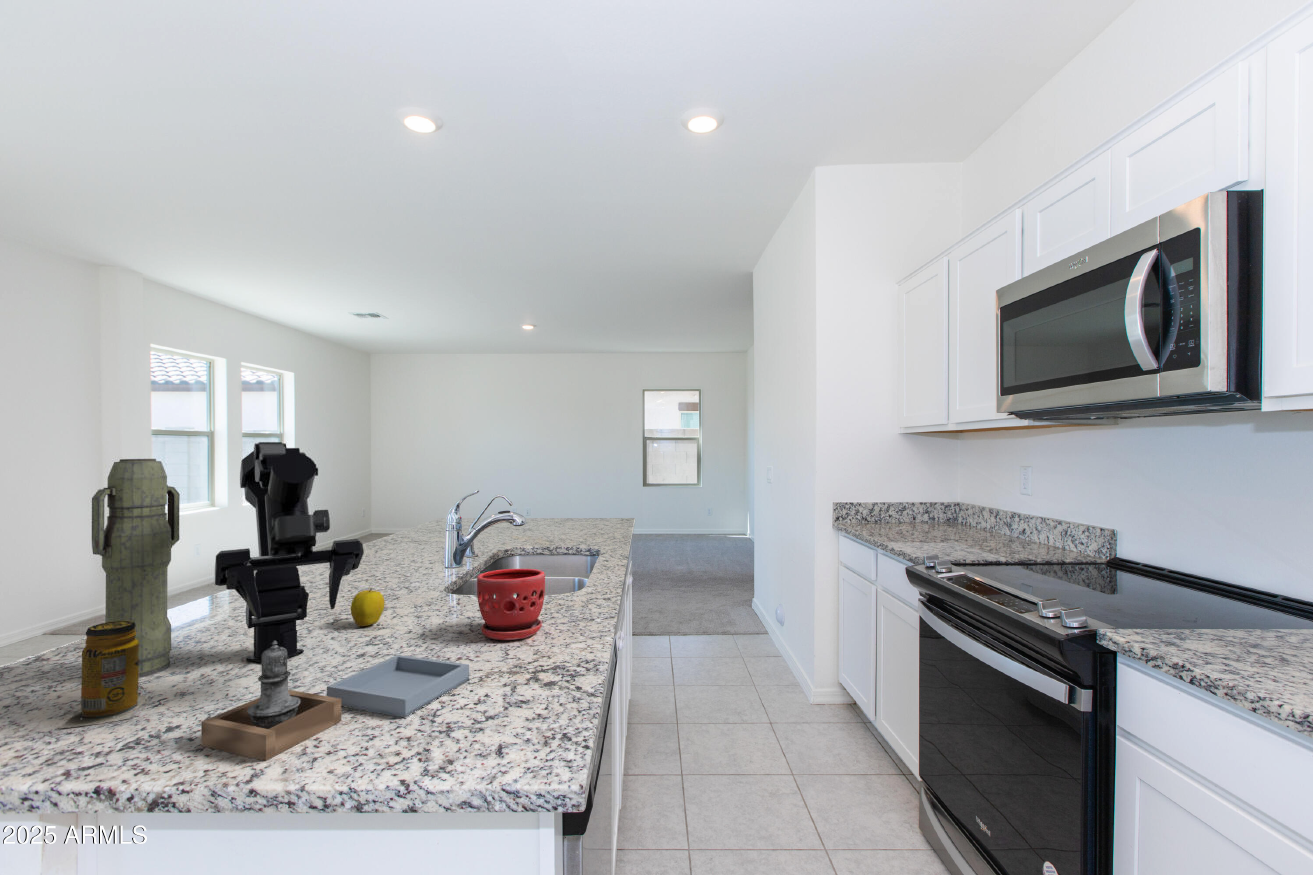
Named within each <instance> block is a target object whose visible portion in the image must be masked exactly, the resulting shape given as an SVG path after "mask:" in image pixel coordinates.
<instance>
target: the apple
mask: <svg viewBox="0 0 1313 875" xmlns="http://www.w3.org/2000/svg"><path fill="white" fill-rule="evenodd" d="M385 605H386V603H385V598H384V595H383V594H382V593H381V592H380V591H377V590H372V587H370V588H369V589H368V590H367V589H366V590H361V591H358V592H357V593H356V594H355V595H354V596H353V598H352V601H351V604H350V615H351V617H352V619H353V622H354V623H355V624H356V625H357V626H358V627H365V626H366V627H367V626H370V625H374V624H377V623H378V622H379V621H380V619H381V616H382V614H383V612H384V610H385V609H384V608H385Z"/></svg>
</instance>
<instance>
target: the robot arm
mask: <svg viewBox="0 0 1313 875" xmlns="http://www.w3.org/2000/svg"><path fill="white" fill-rule="evenodd" d="M239 471H240V472H239V487H240V489H243V490H244V499H245V501H246V502H247V503H249V504H250V505H251V506H252V507H253V508H254V509H255V519H256V533H257V545H258V547H257V548H258V556H253V557H251V550H250V548H237V549H227V550H226V549H225V550H220V551H219V552H218V553H217V554H216V555H215V560H214V562H215V564H214V585H215V586H218V587H222V586H225V588H226V589H227V590H235V592H236V593H237V594H238V595H239V596H240V597H241V599H243V601H244V602H245V604H246V605H245V624H246V626H247V629H249V630H250V629H253V654H251V655H248V656H245V659H244V660H245V661H249V662H255V663H261V664H262V654H263V652H264V651H265V650H267V649H269V648H270V647H272V646H273V645H272V643H273V641H274V640H275V641H277V646H279V647H283V648H285V649H286V650H287V659H290V658H292V657H295V656H297V655H301V654H304V652H305V650H304V649H303V648H298V630H297V621H304V620H305V618H307V617H308V604H309V603H308V602H309V596H310V594H309V592H307V590H306V587H305V585H304V584H303V585H302V584H301V583H302V582H301V578H300V577H301V576H300V573H299V568H298V567H300V566H301V567H302V566H310V565H322V564H329V569H330V570H329V574H328V596H329V597H328V603H329V606H330V610H331V611H332V610H335V607H336V602H337V600H338V595H339V590H340V586H341V583H342V579H343V577H346V576H348V575H350V574H351V572H352V571H355V570H357V569H359V566H360V564H361V561H362V559H363V556H364V552H365V551H364V545H363V543H362V541H360V540H359V538H352V539H351V538H350V539H342V540H341V539H339V540H333V541H332V542H333V543H332V546H331V548H330V549H326V550H325V549H324V550H314V548H315V547H316V544H317V538H316V537H317V534H321V533H327V532H328V531H329V530H330V529H331V520H330V519H331V518H330V513H329V509H317V510H316V509H315V510H314V511H313V512H312V514H310V513H309V512H310V511H309V502H308V499H309V498H310V496H311V494H312V490H313V486H314V481H315V478H316V477H317V476H319V467H317V464H316V463H315V460H313V459H312V458H311V457H309V456H307V455H306V453H305V452H304V451H303V452H301V450H300V448H299V447H287V443H283V442H281V441H259V442H258V443H257V442H256V443H254V444H253V451H251V452H250V453H248V454H247V455H245V457H244V458H242V459H241V462H240V470H239Z"/></svg>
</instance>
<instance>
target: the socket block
mask: <svg viewBox="0 0 1313 875" xmlns="http://www.w3.org/2000/svg"><path fill="white" fill-rule="evenodd" d="M288 691H289V695H290V696H293V697H297V698H299V699H300V700H301V702H300V704H299V705H298V710H297V712H296V715H295V717H293V718H291V719H289V720H286V721H284V722H282V723H280V724H278V725H276V726H274V727H272V728H270V729H264V728H259V727H256V726H254V725H253V723H252V721H251V719H250V715H248V713H247V710H248V708H250V707H251V706H252V705H254V704H255V703H258V702H259V699H260V697H257V698H256V699H252V700H250V701H248V702H245V703H243V704H241V705H239V706H238V705H237V706H235V707H234V708H231V709H229V710H226V711H223V712H221V713H220V714H216V715H214V716H211V717H210V718H207V719H205V720H202V721H201V722H200V723H201V724H200V725H201V729H200V730H201V734H200V736H201V737H200V738H201V740H200V741H201V744H200V745H201V747H204V748H209V749H213V750H218V751H222V752H225V753H230V754H234V755H239V756H243V757H247V758H248V757H249V758H251V759H256V760H260V761H264V762H266V761H269V760H270V759H273V758H274V757H276V756H277V755H280V754H283V753H284V752H286V751H287V750H289V749H292V748H293V747H295V746H297V745H299V744H301V743H303V742H305V741H306V740H308V739H310V738H312V737H313V736H316V735H317V734H320V733H322V732H324V731H325V730H327V729H330V728H331V727H333V726H335V725H337V724H339V723H341V722H342V707H341V699H340V698H334V697H328V696H327V695H320V694H315V693H311V692H310V693H309V692H303V691H300V690H299V691H298V690H292V689H288ZM340 721H341V722H340Z"/></svg>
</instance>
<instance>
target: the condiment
mask: <svg viewBox="0 0 1313 875" xmlns="http://www.w3.org/2000/svg"><path fill="white" fill-rule="evenodd" d="M135 627H136V625H135V622H133V621H128V620H126V621H125V620H122V621H112V622H106V623H105V622H103V623H102V622H101V623H99V624H98V623H97V624H94V625H92V626H90V627H88V628H87V629H86V631H85V635H86V639H85V646H84V648H83V649H82V650H81V684H80V685H81V686H80V687H81V688H80V691H81V692H80V693H81V696H80V709H79V710H77V712H76V713H74V715H72V716H70V717H68V719H66V721H65V722H64V723H63V724H61V726H60V727H59V729H64V728H66V729H67V728H70V729H71V728H76V727H84V726H92V725H96V724H97V725H98V724H99V725H103V724H105V723H109V722H118V721H122V720H129V719H131V718H132V716H133V715H134V714H135V712H136V711H137V710H138V709H140V707H141V706H142V705H143V704H144V703H145V701H146V700H147V699H148V698H149V696H150V695H141V696H139V678H140V677H139V675H138V674H139V673H138V672H139V670H138V667H139V664H138V663H139V662H138V661H139V660H138V659H139V658H138V657H139V642H138V640H137V639H136V638H135V636H136V631H135Z"/></svg>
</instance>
